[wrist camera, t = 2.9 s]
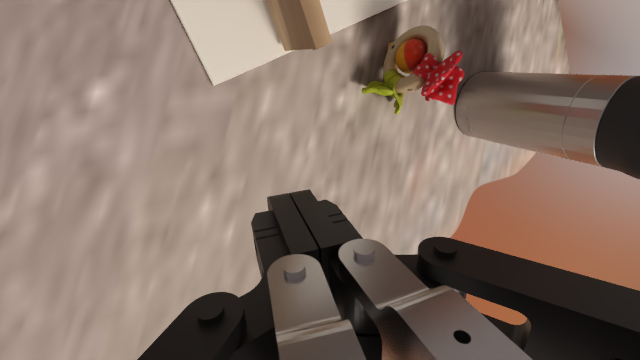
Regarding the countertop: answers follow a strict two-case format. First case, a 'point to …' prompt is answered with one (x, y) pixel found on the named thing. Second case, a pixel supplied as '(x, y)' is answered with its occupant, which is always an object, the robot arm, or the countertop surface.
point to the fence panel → (300, 23)
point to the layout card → (253, 30)
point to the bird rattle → (419, 68)
